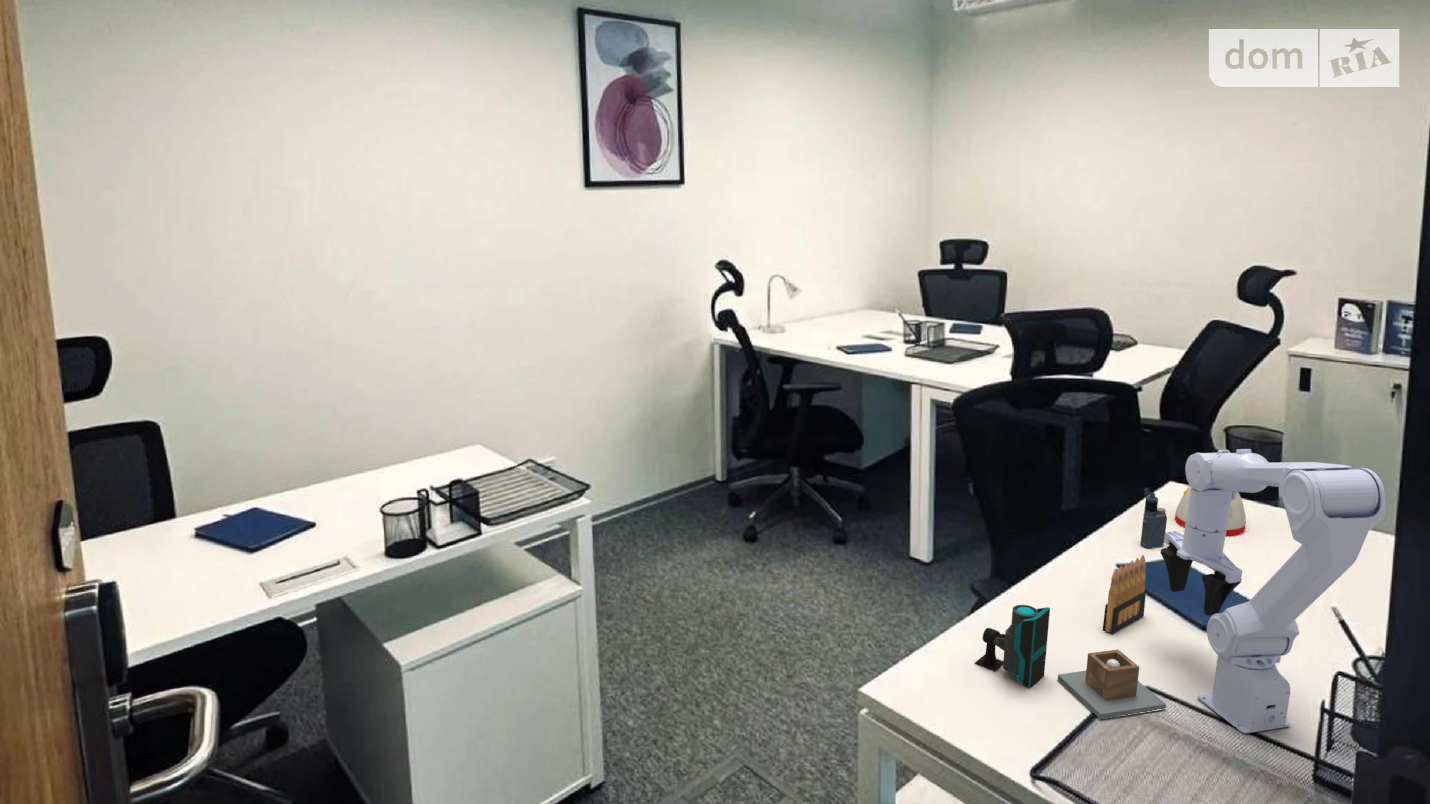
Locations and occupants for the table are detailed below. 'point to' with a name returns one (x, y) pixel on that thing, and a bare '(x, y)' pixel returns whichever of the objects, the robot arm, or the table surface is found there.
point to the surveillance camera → (1020, 645)
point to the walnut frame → (1112, 675)
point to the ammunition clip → (1125, 597)
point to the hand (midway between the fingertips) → (1193, 601)
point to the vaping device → (1153, 524)
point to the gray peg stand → (1109, 707)
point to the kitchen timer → (1234, 521)
